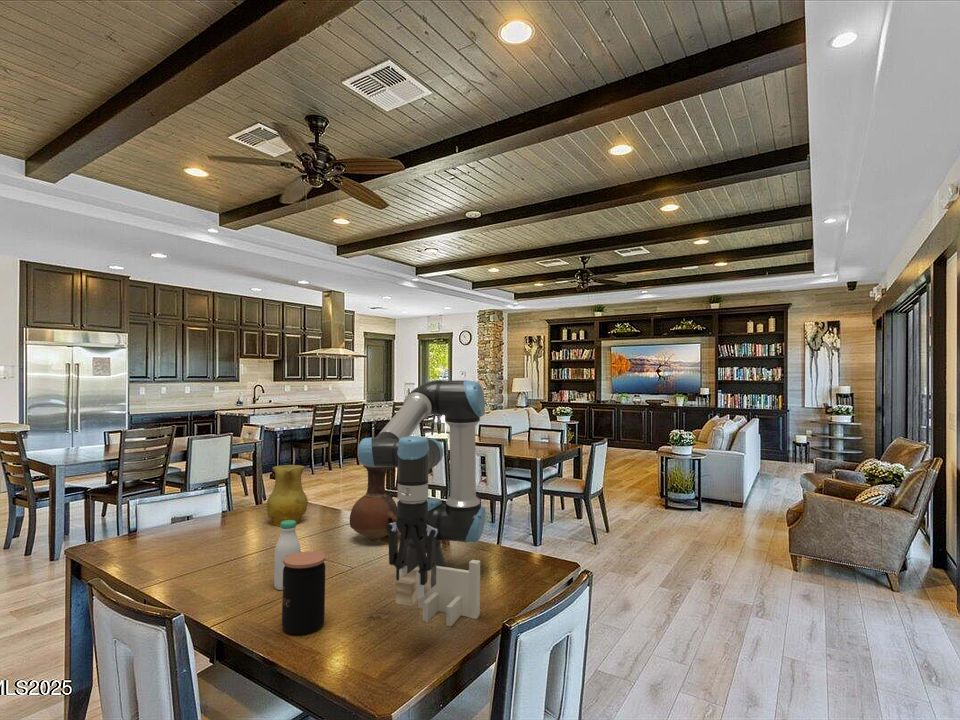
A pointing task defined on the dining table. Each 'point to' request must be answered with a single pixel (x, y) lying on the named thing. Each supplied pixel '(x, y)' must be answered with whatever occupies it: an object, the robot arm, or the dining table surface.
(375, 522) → the vase
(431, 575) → the beige wooden block
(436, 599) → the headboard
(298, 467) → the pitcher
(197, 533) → the dining table surface
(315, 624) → the coffee jar
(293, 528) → the milk bottle
